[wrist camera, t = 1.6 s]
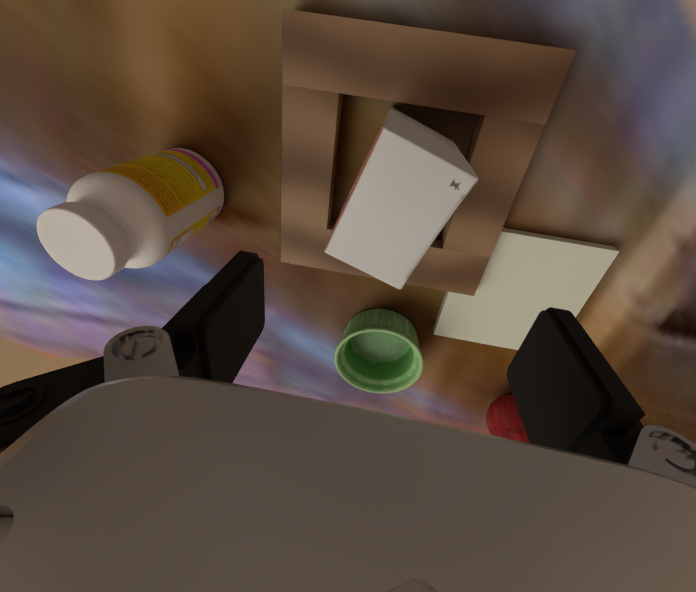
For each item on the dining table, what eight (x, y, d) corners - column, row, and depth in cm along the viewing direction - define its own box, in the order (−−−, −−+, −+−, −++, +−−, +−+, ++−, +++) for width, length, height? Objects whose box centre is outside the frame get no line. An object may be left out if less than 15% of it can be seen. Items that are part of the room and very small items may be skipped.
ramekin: (437, 324, 35) (441, 353, 31) (395, 374, 40) (395, 404, 36) (362, 289, 34) (357, 315, 30) (328, 345, 39) (321, 373, 35)
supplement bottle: (151, 137, 28) (-3, 174, 17) (227, 156, 28) (119, 205, 17) (160, 211, 32) (39, 279, 21) (227, 228, 32) (139, 304, 21)
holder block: (291, 13, 22) (282, 8, 20) (563, 52, 21) (576, 50, 20) (287, 252, 32) (280, 261, 31) (470, 284, 31) (473, 296, 30)
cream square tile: (470, 222, 28) (472, 226, 27) (613, 246, 28) (619, 251, 27) (432, 328, 35) (433, 334, 34) (546, 349, 34) (550, 356, 33)
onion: (475, 408, 41) (489, 472, 34) (487, 376, 38) (505, 440, 31) (524, 414, 40) (547, 480, 34) (540, 382, 37) (570, 449, 30)
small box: (390, 104, 24) (384, 119, 15) (455, 141, 25) (483, 176, 16) (345, 200, 29) (320, 253, 20) (401, 229, 29) (400, 293, 21)
